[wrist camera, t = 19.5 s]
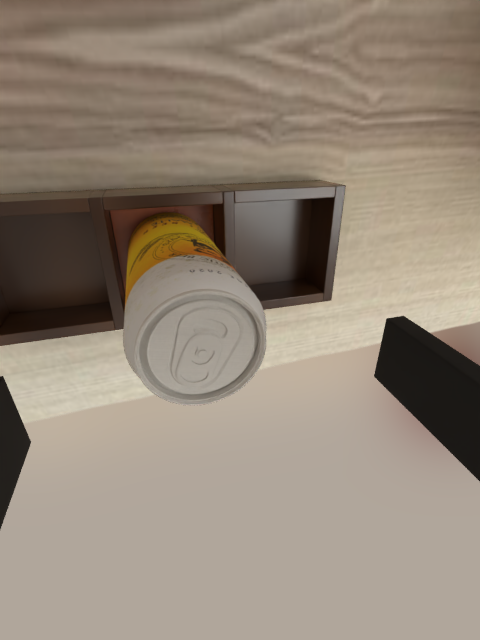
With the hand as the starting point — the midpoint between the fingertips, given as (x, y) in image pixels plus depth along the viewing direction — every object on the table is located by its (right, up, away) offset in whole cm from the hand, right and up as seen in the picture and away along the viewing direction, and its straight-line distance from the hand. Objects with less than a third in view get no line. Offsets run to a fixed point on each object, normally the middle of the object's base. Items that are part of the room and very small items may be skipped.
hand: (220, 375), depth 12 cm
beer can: (-5, +7, +14) cm, 17 cm away
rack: (-5, +8, +15) cm, 17 cm away
